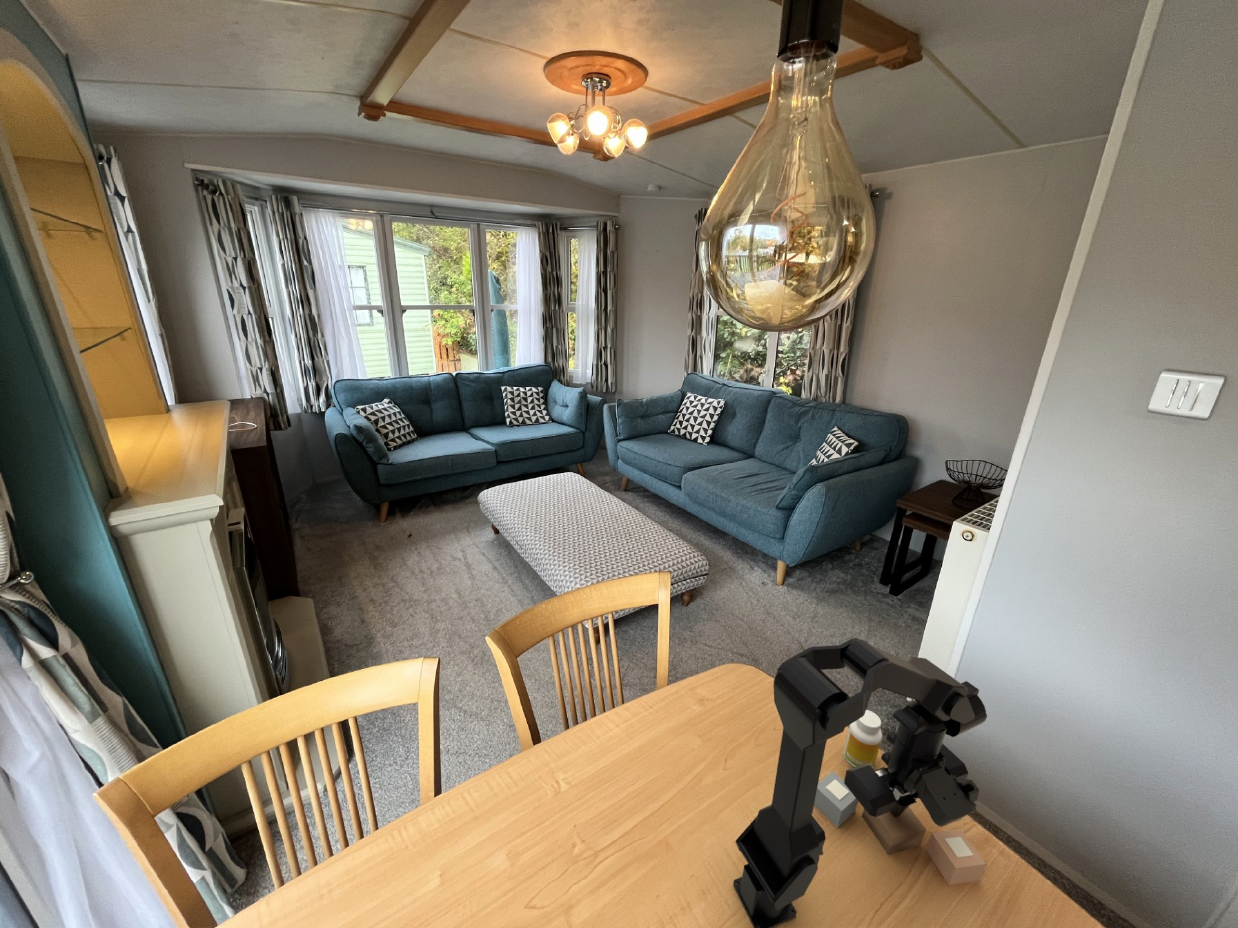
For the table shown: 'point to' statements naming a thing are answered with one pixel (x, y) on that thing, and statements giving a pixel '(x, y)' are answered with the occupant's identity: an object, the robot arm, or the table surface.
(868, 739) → the supplement bottle
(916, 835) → the walnut block
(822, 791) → the grey cream-patch block
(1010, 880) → the table surface
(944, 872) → the tan cream-patch box
